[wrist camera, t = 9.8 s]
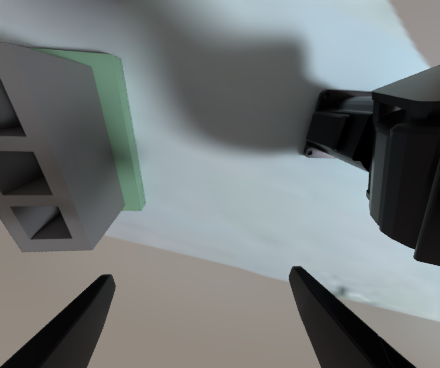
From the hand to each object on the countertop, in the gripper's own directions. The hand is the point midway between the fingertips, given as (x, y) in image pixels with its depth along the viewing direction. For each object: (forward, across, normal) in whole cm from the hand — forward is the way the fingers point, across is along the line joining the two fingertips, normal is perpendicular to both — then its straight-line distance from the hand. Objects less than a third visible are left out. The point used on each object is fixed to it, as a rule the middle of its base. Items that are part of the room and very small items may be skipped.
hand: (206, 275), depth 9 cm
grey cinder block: (+10, +11, -3) cm, 15 cm away
